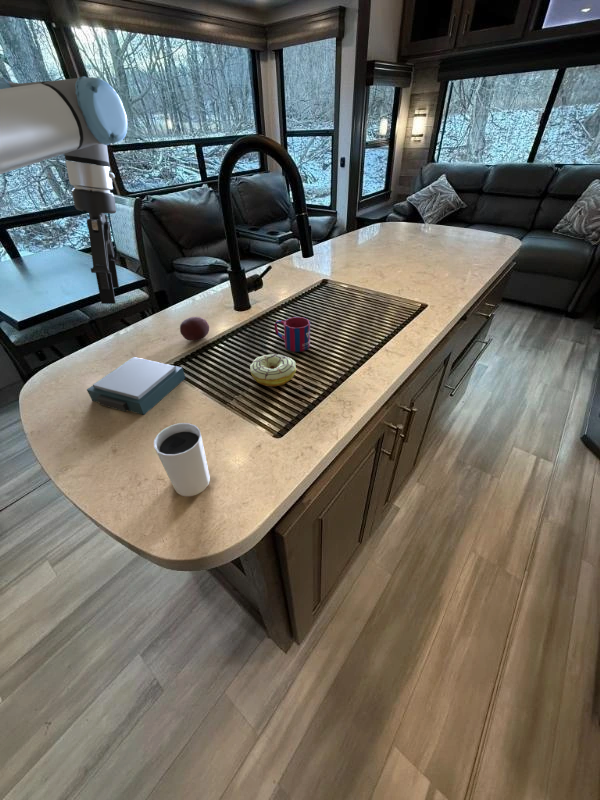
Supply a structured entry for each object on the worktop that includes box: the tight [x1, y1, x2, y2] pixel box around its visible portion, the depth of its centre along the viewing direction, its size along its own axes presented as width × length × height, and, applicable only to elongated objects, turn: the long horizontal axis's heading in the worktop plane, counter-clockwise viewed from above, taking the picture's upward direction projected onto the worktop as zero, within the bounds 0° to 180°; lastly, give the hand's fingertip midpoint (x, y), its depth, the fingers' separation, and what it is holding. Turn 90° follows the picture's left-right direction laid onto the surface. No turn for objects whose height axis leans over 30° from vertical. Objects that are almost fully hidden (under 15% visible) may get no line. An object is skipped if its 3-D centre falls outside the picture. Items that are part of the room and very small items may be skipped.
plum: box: [179, 316, 210, 342], centre depth 91 cm, size 7×8×6 cm
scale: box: [86, 356, 186, 416], centre depth 73 cm, size 15×14×4 cm
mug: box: [274, 316, 311, 353], centre depth 88 cm, size 7×10×7 cm
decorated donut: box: [249, 353, 297, 387], centre depth 77 cm, size 10×11×4 cm
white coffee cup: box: [153, 422, 211, 497], centre depth 51 cm, size 7×7×10 cm
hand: (110, 295), depth 78 cm, fingers open, 13 cm apart
